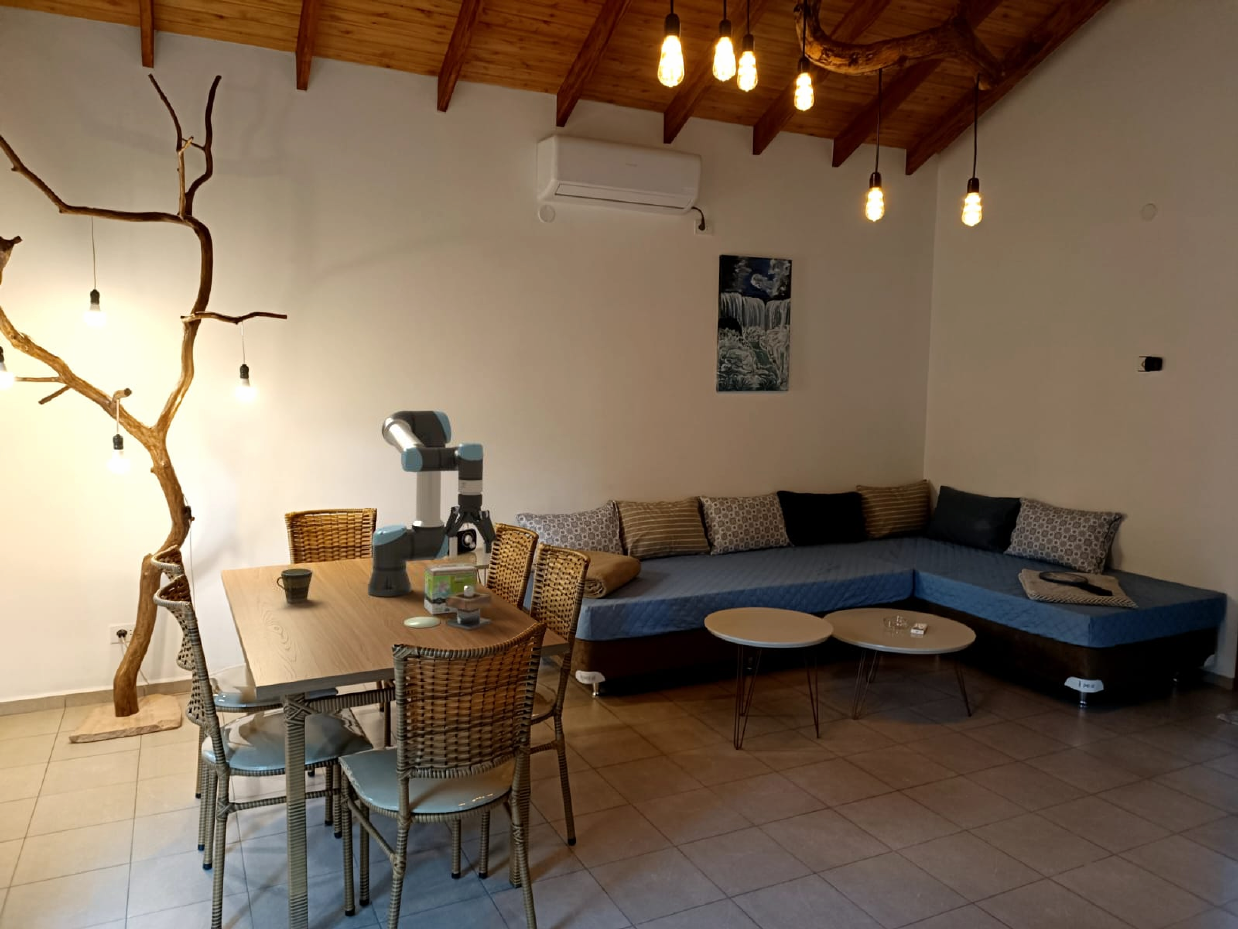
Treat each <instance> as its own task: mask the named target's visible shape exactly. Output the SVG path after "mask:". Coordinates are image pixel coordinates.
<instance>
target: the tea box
mask: <svg viewBox="0 0 1238 929" xmlns="http://www.w3.org/2000/svg"><path fill="white" fill-rule="evenodd" d="M424 572H425V575H424V576H425V577H424V603H423V605H424V608H425V610H427V611H428V613H430V614H431V615H438V614H450V613H457V608H453V607H449V606H446V596H449V595H453V594H456V593H460V592H463V591H464V586H467V585H471V586H473V592H477V585H478V584H477V583H478V582H477V581H478V578H477V577H478V568H476V567H475V566H474V565H472V564H471V563H470V562H459V563H445V564H443V563H442V564H428V565H427V564H426V565H425V571H424Z"/></svg>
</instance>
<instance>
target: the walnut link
mask: <svg viewBox="0 0 1238 929" xmlns="http://www.w3.org/2000/svg"><path fill="white" fill-rule="evenodd" d="M491 605H492V595H491V594H487V593H483V592H482V593H481V592H478V591H476V592H473V598H472V599H466V598H464V591H463V592H460V593H456V594H453V595H449V596H446V606H449V607H453V608H458V609H462V610H467V611H472V610H475V609H478V608H480V609H481V608H484V607H487V606H491Z"/></svg>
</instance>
